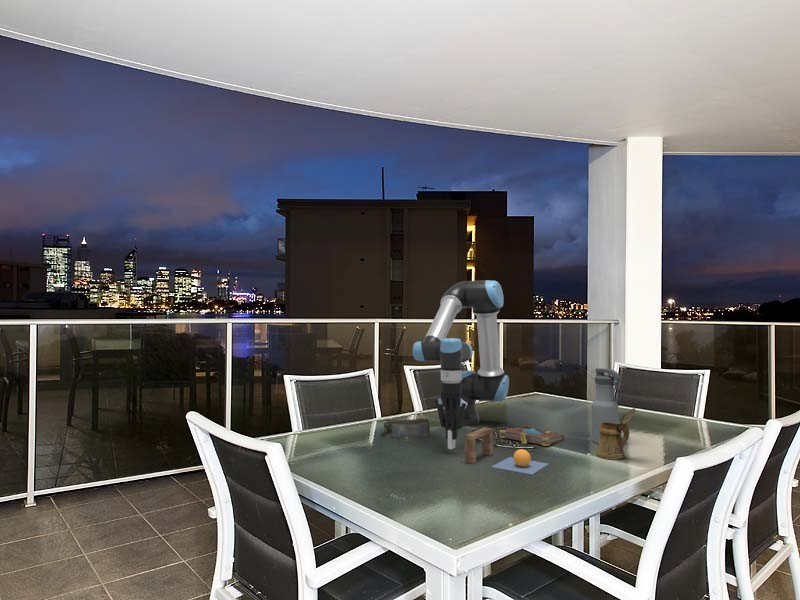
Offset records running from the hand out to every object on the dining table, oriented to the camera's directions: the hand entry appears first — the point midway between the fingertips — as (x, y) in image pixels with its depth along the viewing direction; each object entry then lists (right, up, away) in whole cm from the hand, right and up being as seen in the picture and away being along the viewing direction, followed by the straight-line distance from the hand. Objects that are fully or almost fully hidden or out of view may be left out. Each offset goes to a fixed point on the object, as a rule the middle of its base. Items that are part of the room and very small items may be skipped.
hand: (451, 448), depth 190 cm
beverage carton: (-16, -3, +29) cm, 33 cm away
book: (+32, -3, +21) cm, 38 cm away
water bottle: (+61, -2, +15) cm, 63 cm away
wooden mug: (+56, -2, -7) cm, 56 cm away
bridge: (+9, -2, -7) cm, 11 cm away
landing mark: (+21, -2, -15) cm, 26 cm away
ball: (+21, +1, -16) cm, 27 cm away
